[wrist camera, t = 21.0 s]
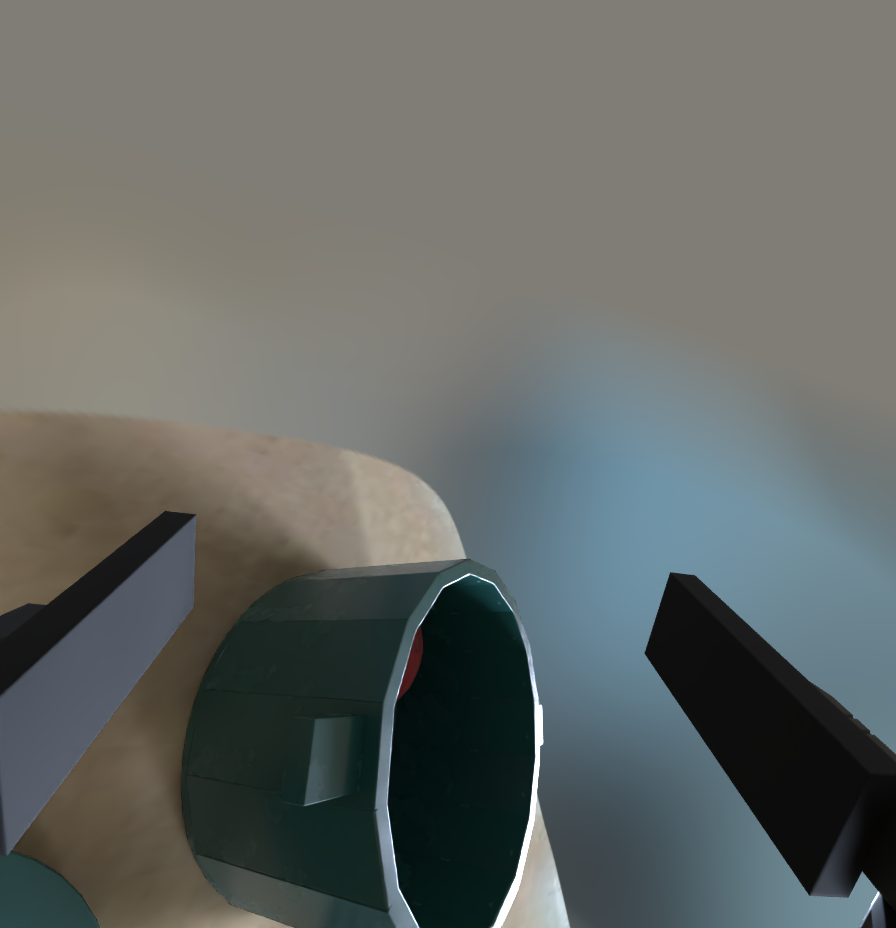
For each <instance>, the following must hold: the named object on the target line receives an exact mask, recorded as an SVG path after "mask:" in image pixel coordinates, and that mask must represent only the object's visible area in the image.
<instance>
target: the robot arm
mask: <svg viewBox="0 0 896 928" xmlns="http://www.w3.org/2000/svg"><path fill="white" fill-rule="evenodd" d="M195 537H196V514H187V513H179V512H171V511H164V512H163V513H162V514H161V515H159V516H158V517H157V518H156V519H154V520H153V521H152V522H151V523H149V524H148V525H147V526H146V527H144V528H143V529H142V530H140V531H139V532H138V533H137V534H135V535H134V536H133V537H132V538H130V539H129V540H128V541H127V542H125V543H124V544H123V545H122V546H120V547H119V548H118V549H117V550H115V551H114V552H113V553H112V554H110V555H109V556H108V557H106V558H105V559H104V560H103V561H101V562H100V563H99V564H98V565H96V566H95V567H94V568H93V569H91V570H90V571H89V572H88V573H86V574H85V575H84V576H83V577H81V578H80V579H79V580H78V581H76V582H75V583H74V584H72V585H71V586H70V587H69V588H67V589H66V590H65V591H64V592H62V593H61V594H60V595H59V596H57V597H56V598H55V599H54V600H52V601H51V602H50V603H49V604H47V605H41V604H31V603H28V604H26V605H24V606H21V607H19V608H17V609H14V610H12V611H10V612H8V613H5V614H3V615H1V616H0V856H7V855H8V854H9V853H10V851H11V850H12V849H13V847H14V846H15V845H16V843H17V842H18V841H19V839H20V838H21V837H22V835H23V834H24V833H25V831H26V830H27V829H28V827H29V826H30V825H31V823H32V822H33V821H34V819H35V818H36V817H37V815H38V814H39V813H40V811H41V810H42V809H43V807H44V806H45V805H46V803H47V802H48V801H49V799H50V798H51V797H52V795H53V794H54V793H55V791H56V790H57V789H58V787H59V786H60V785H61V783H62V782H63V781H64V779H65V778H66V777H67V775H68V774H69V773H70V771H71V770H72V769H73V767H74V766H75V765H76V763H77V762H78V761H79V759H80V758H81V757H82V755H83V754H84V753H85V751H86V750H87V749H88V747H89V746H90V745H91V743H92V742H93V741H94V739H95V738H96V737H97V735H98V734H99V733H100V731H101V730H102V729H103V727H104V726H105V725H106V723H107V722H108V721H109V719H110V718H111V717H112V715H113V714H114V713H115V711H116V710H117V709H118V707H119V706H120V705H121V703H122V702H123V701H124V699H125V698H126V697H127V695H128V694H129V693H130V691H131V690H132V689H133V687H134V686H135V685H136V683H137V682H138V681H139V679H140V678H141V677H142V675H143V674H144V673H145V671H146V670H147V669H148V667H149V666H150V665H151V663H152V662H153V661H154V659H155V658H156V657H157V655H158V654H159V653H160V651H161V650H162V649H163V647H164V646H165V645H166V643H167V642H168V641H169V639H170V638H171V637H172V635H173V634H174V633H175V631H176V630H177V629H178V627H179V626H180V625H181V623H182V622H183V621H184V619H185V618H186V617H187V615H188V614H189V613H190V611H191V610H192V608H193V605H194V571H195ZM645 655H646V656H647V658H648V659H649V661H650V662H651V664H652V665H653V667H654V668H655V670H656V671H657V673H658V674H659V676H660V677H661V678H662V680H663V681H664V683H665V684H666V686H667V687H668V689H669V690H670V692H671V693H672V695H673V696H674V698H675V699H676V700H677V702H678V703H679V705H680V706H681V708H682V709H683V711H684V712H685V714H686V715H687V717H688V718H689V720H690V721H691V722H692V724H693V725H694V727H695V728H696V730H697V731H698V733H699V734H700V736H701V737H702V739H703V740H704V742H705V743H706V745H707V746H708V748H709V749H710V750H711V752H712V753H713V755H714V756H715V758H716V759H717V761H718V762H719V764H720V765H721V766H722V768H723V770H724V771H725V772H726V774H727V775H728V776H729V778H730V780H731V781H732V783H733V784H734V786H735V787H736V789H737V790H738V792H739V793H740V794H741V796H742V797H743V799H744V800H745V802H746V803H747V805H748V806H749V807H750V809H751V810H752V812H753V814H754V815H755V816H756V818H757V819H758V821H759V822H760V824H761V825H762V827H763V828H764V830H765V831H766V833H767V834H768V835H769V837H770V839H771V840H772V841H773V843H774V844H775V846H776V847H777V849H778V850H779V852H780V853H781V855H782V856H783V858H784V859H785V861H786V862H787V864H788V865H789V866H790V868H791V869H792V871H793V872H794V874H795V875H796V877H797V878H798V880H799V881H800V883H801V884H802V886H803V887H804V888H805V890H806V891H807V893H808V894H809V896H827V897H849V895H850V893H851V892H852V890H853V888H854V886H855V884H856V882H857V880H858V878H859V876H860V874H861V872H862V871H863V873H864V874H865V875H866V876H867V878H868V879H869V880H870V881H871V883H872V884H873V885H874V886H875V888H876V889H877V890H878V893H877V895H876V897H875V899H874V901H873V902H872V904H871V906H870V908H869V910H868V912H867V913H866V915H865V917H864V919H863V921H862V922H861V924H860V926H859V928H896V754H895V753H894V752H892V751H891V750H890V749H889V748H888V747H887V746H886V745H885V744H884V743H883V742H881V741H880V740H879V739H878V738H877V737H876V736H875V735H871V734H870V730H868V729H867V728H866V727H865V726H864V725H863V724H862V723H861V722H860V721H859V720H857V719H854V718H853V715H852V714H851V713H850V712H849V711H848V710H846V709H845V708H844V707H843V706H842V705H841V704H840V703H839V702H838V701H837V700H835V699H834V698H833V697H832V696H831V695H829V694H828V693H826V692H825V691H823V690H822V689H820V688H819V687H817V686H816V685H814V684H813V683H811V682H810V681H808V680H807V679H806V678H805V677H804V676H803V675H802V674H801V673H800V672H799V671H797V670H796V669H795V668H794V667H793V666H792V665H791V664H790V663H789V662H788V661H787V660H786V659H784V658H783V657H782V656H781V655H780V654H779V653H778V652H777V651H776V650H775V649H774V648H773V647H771V646H770V645H769V644H768V643H767V642H766V641H765V640H764V639H763V638H762V637H761V636H760V635H759V634H757V632H755V631H754V630H753V629H752V628H751V627H750V626H749V625H748V624H747V623H746V622H745V621H743V619H741V618H740V617H739V616H738V615H737V614H736V613H735V612H734V611H733V610H732V609H730V608H729V606H727V605H726V604H725V603H724V602H723V601H722V600H721V599H720V598H719V597H718V596H717V595H716V594H715V593H713V592H712V591H711V590H710V589H709V588H708V587H707V586H706V585H705V584H704V583H703V582H702V581H701V580H699V579H698V578H697V577H696V576H695V575H687V574H679V573H670V575H669V578H668V581H667V584H666V587H665V591H664V594H663V597H662V600H661V603H660V606H659V609H658V613H657V616H656V619H655V622H654V625H653V628H652V632H651V635H650V638H649V641H648V644H647V647H646V651H645Z"/></svg>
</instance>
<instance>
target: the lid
mask: <svg viewBox="0 0 896 928" xmlns="http://www.w3.org/2000/svg"><path fill="white" fill-rule="evenodd" d="M0 928H100V927H99V924H98V922H97V919H96V917H95V916H94V914H93V912H92V911H91V909H90V908H89V906H88V905H87V903H86V901H85V900H84V898H83V897H82V895H81V894H80V893H79V892H78V891H77V890H76V889H75V888H74V887H73V886H72V885H71V884H70V883H69V882H68V881H67V880H66V879H65V878H64V877H63V876H62V875H61V874H59V873H57V872H56V871H54V870H53V869H51V868H49V867H48V866H46V865H44V864H43V863H41V862H40V861H38V860H36V859H34V858H32V857H29V856H26V855H23V854H21V853H18V852H15V851H12V850H11V851H10V853H9V854H8V855H7V856H0Z"/></svg>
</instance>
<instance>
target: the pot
mask: <svg viewBox="0 0 896 928" xmlns="http://www.w3.org/2000/svg"><path fill="white" fill-rule="evenodd" d="M419 626H420V627H421V631H422V637H423V653H422V658H421V662H420V666H419V668H418V671H417V674H416V676H415V678H414V680H413V682H412V684H411V686H410V688H409V689H408V690H407V691H406V692H405V693H404V694H403V695H402V697H401V698H400V699H398V700H397V696H398V693H399V689H400V686H401V682H402V679H403V675H404V672H405V668H406V664H407V661H408V657H409V654H410V650H411V647H412V643H413V640H414V636H415V633H416V631H417V629H418V627H419ZM542 744H543V728H542V705H541V704H538V694H537V687H536V681H535V675H534V668H533V662H532V655H531V649H530V644H529V641H528V638H527V635H526V632H525V629H524V625H523V622H522V619H521V616H520V614H519V611H518V608H517V605H516V602H515V600H514V598H513V597H512V595H511V594H510V592H509V591H508V589H507V588H506V586H505V585H504V583H503V582H502V580H501V579H500V577H499V576H498V574H497V573H496V571H494V570H492V569H490V568H488V567H486V566H484V565H481V564H479V563H477V562H475V561H472V560H471V559H460V560H447V561H434V562H421V563H408V564H395V565H382V566H369V567H356V568H343V569H330V570H321V571H318V572H315V573H311V574H306V575H301V576H297V577H294V578H292V579H289V580H287V581H284V582H282V583H281V584H279V585H277V586H276V587H274V588H272V589H271V590H269V591H268V592H267V593H265V594H264V595H263V596H262V597H260V598H259V599H258V600H257V601H255V602H254V603H253V604H252V605H251V606H250V607H249V608H248V609H247V610H246V612H245V613H244V614H243V615H242V616H241V617H240V618H239V619H238V621H237V622H236V623H235V625H234V626H233V627H232V628H231V630H230V631H229V632H228V634H227V635H226V637H225V639H224V640H223V642H222V643H221V645H220V647H219V648H218V650H217V652H216V653H215V655H214V657H213V659H212V661H211V663H210V665H209V667H208V669H207V671H206V674H205V676H204V678H203V681H202V683H201V686H200V689H199V691H198V694H197V697H196V699H195V702H194V706H193V710H192V713H191V717H190V721H189V725H188V728H187V734H186V740H185V746H184V752H183V762H182V779H181V791H182V809H183V816H184V821H185V827H186V832H187V837H188V840H189V843H190V846H191V849H192V852H193V855H194V858H195V860H196V861H197V863H198V865H199V867H200V869H201V871H202V872H203V874H204V876H205V878H206V879H207V880H208V881H209V882H210V884H211V885H212V886H213V887H214V888H215V889H216V891H217V892H219V893H220V894H221V895H223V896H224V897H225V899H226V900H227V902H228V903H229V904H230V905H233V906H235V907H238V908H241V909H244V910H246V911H249V912H252V913H255V914H258V915H260V916H263V917H266V918H269V919H271V920H274V921H277V922H280V923H282V924H285V925H288V926H291V927H293V928H501V927H502V925H503V923H504V921H505V918H506V916H507V914H508V911H509V909H510V907H511V905H512V902H513V900H514V898H515V895H516V893H517V891H518V888H519V885H520V880H521V876H522V871H523V867H524V863H525V858H526V854H527V849H528V845H529V841H530V836H531V832H532V827H533V823H534V815H535V804H536V793H537V782H538V771H539V760H540V759H539V757H540V755H539V754H540V753H539V745H542Z"/></svg>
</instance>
